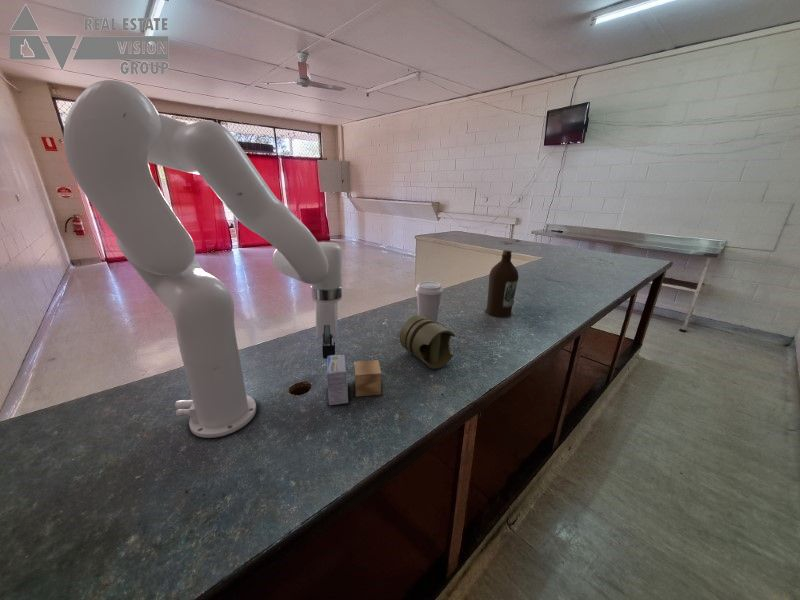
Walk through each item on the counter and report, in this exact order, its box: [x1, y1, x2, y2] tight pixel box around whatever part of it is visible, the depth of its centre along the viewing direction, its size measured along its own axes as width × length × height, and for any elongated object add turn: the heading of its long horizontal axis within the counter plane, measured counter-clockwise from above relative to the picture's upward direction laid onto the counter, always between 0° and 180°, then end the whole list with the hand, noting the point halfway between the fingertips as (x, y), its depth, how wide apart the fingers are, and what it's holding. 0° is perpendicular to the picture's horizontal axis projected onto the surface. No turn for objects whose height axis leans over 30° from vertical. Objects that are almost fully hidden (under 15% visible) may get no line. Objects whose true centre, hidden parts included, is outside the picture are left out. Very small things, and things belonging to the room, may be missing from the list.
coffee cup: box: [415, 280, 444, 324], centre depth 112 cm, size 10×10×15 cm
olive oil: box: [485, 249, 519, 318], centre depth 122 cm, size 11×11×25 cm
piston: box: [399, 314, 456, 370], centre depth 90 cm, size 11×12×11 cm
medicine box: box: [326, 354, 349, 406], centre depth 74 cm, size 8×4×9 cm, turn 11°
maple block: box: [353, 359, 382, 397], centre depth 77 cm, size 6×6×6 cm
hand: (329, 356), depth 85 cm, fingers closed
